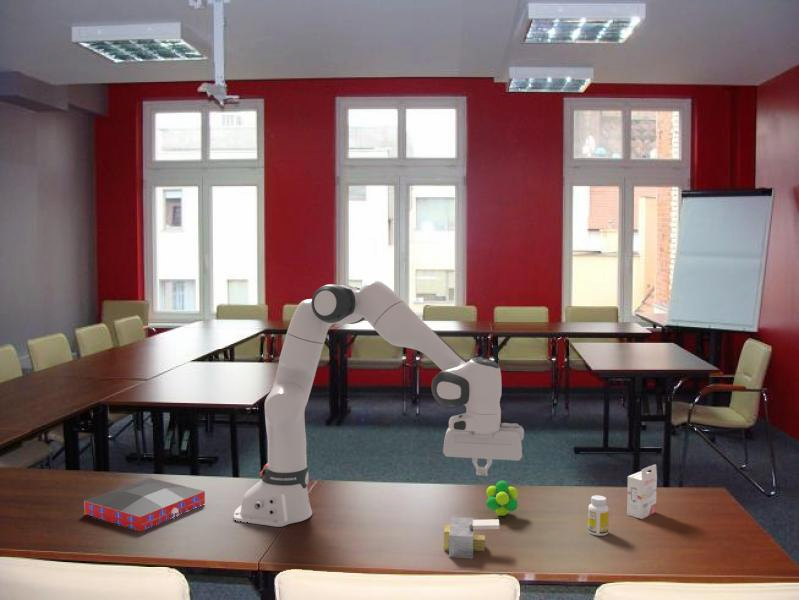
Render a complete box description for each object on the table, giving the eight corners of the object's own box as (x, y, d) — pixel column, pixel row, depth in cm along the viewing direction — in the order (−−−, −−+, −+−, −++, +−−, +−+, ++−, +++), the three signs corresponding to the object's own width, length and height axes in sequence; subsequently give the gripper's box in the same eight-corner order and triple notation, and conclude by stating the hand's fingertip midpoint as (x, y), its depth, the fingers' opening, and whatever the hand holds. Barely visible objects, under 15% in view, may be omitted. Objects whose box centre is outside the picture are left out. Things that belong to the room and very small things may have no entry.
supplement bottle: (608, 530, 197) (609, 495, 197) (607, 537, 192) (608, 502, 192) (588, 527, 199) (589, 493, 198) (586, 534, 194) (587, 499, 193)
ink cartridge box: (641, 508, 215) (642, 460, 213) (656, 512, 211) (658, 464, 210) (625, 514, 209) (627, 465, 208) (641, 519, 205) (642, 469, 204)
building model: (143, 534, 193) (142, 511, 193) (83, 516, 206) (83, 494, 205) (207, 507, 214) (207, 485, 214) (149, 492, 226) (149, 472, 226)
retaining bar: (469, 525, 182) (499, 525, 182) (469, 519, 186) (498, 519, 186) (469, 529, 183) (499, 529, 182) (469, 523, 186) (499, 523, 186)
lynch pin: (443, 550, 183) (443, 531, 183) (444, 542, 188) (445, 524, 188) (484, 552, 182) (485, 534, 182) (484, 544, 187) (484, 526, 187)
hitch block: (448, 557, 179) (449, 535, 179) (451, 537, 192) (451, 516, 191) (472, 558, 179) (473, 536, 178) (473, 538, 191) (473, 517, 191)
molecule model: (501, 498, 214) (483, 486, 211) (520, 488, 210) (502, 476, 207) (501, 520, 208) (483, 508, 205) (520, 510, 204) (502, 498, 201)
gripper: (523, 420, 184) (521, 473, 185) (444, 417, 186) (443, 468, 187) (525, 426, 178) (523, 481, 179) (443, 422, 180) (441, 476, 181)
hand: (481, 474), depth 183 cm, fingers closed
